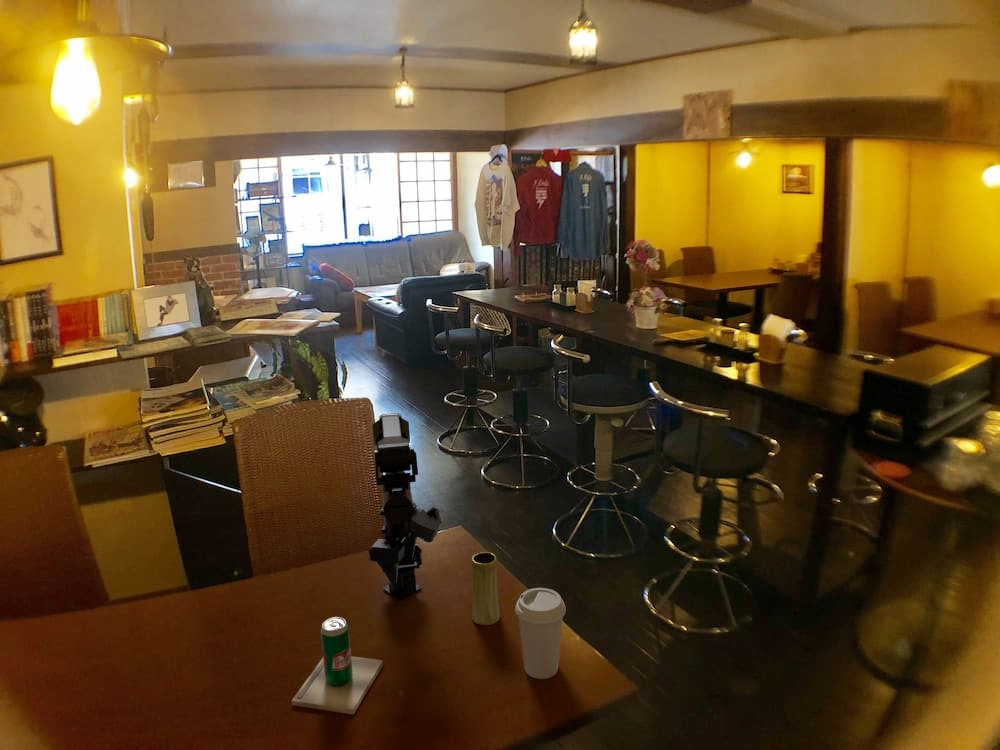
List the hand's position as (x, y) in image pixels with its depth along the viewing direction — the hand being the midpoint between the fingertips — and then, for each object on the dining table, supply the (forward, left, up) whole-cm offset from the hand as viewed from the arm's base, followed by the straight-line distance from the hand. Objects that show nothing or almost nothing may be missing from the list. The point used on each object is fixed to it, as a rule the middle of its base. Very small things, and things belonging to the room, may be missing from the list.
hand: (402, 571), depth 153 cm
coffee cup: (+30, +10, -13) cm, 34 cm away
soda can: (+6, -20, -12) cm, 24 cm away
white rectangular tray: (+6, -20, -13) cm, 25 cm away
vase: (+10, +14, -13) cm, 22 cm away
